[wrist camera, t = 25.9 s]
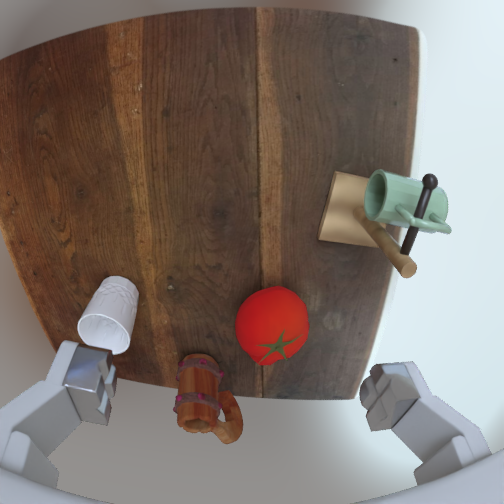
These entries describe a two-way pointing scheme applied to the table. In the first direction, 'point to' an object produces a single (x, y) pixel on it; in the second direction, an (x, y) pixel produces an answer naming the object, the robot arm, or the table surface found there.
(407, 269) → the mug stand
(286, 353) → the tomato
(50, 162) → the table surface
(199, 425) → the mug
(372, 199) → the enamel mug
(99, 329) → the white cup
